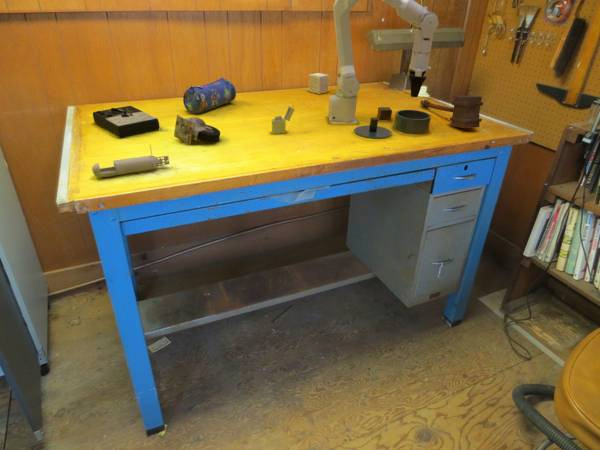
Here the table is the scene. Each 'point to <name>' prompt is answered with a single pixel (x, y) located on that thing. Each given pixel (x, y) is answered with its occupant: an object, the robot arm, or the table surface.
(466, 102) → the hammer
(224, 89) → the pencil case
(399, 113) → the tin
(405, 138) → the table surface
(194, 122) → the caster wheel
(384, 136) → the lid
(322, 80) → the product box
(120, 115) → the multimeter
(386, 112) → the block
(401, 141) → the table surface
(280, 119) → the lighter
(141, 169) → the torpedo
